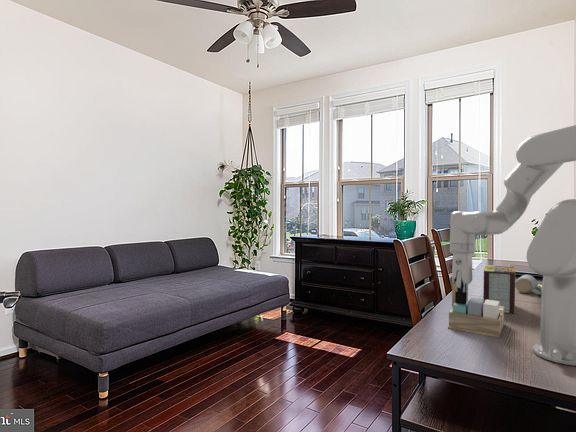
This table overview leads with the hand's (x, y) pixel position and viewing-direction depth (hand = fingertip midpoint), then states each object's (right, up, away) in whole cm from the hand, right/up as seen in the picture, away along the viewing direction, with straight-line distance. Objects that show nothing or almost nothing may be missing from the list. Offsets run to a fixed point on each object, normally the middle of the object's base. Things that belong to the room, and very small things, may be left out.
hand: (460, 303), depth 122 cm
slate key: (+4, -3, -3) cm, 6 cm away
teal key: (0, -5, 0) cm, 5 cm away
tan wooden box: (+5, -7, -1) cm, 9 cm away
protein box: (+25, -7, +22) cm, 34 cm away
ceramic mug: (+54, -7, +48) cm, 72 cm away
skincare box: (+8, -7, +19) cm, 22 cm away
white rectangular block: (+7, -4, -5) cm, 10 cm away
